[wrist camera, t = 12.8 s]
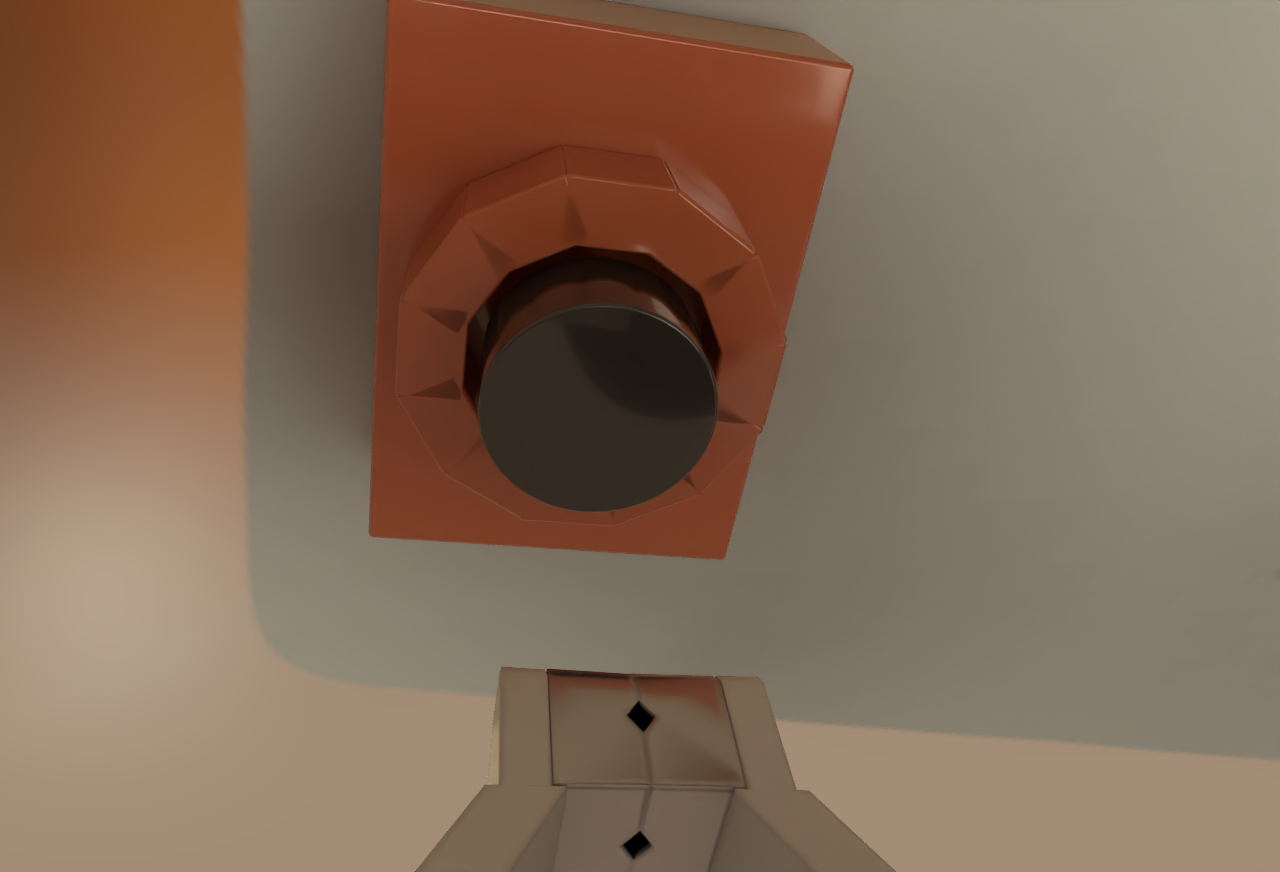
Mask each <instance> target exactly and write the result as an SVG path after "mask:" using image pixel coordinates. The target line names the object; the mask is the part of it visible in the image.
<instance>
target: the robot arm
mask: <svg viewBox="0 0 1280 872" xmlns="http://www.w3.org/2000/svg"><path fill="white" fill-rule="evenodd" d="M415 872H896V871H895V870H894V869H893V868H891V866H889V865H888V864H887V863H886V862H885V861H884V860H883V859H882V858H881V857H880V856H879V855H878V854H877V853H876V852H874V851H873V850H872V849H871V848H870V847H869V846H868V845H867V844H866V843H864V841H863V840H862V839H860V838H859V837H858V836H857V835H856V834H855V833H854V832H853V831H852V830H851V829H850V828H849V827H848V826H847V825H845V824H844V823H843V822H842V821H841V820H840V819H839V818H838V817H837V816H836V815H835V814H833V812H831V811H830V810H829V809H828V808H827V807H826V806H825V805H824V804H823V803H822V802H821V801H820V800H819V799H817V798H816V797H815V796H814V795H813V794H812V793H811V792H810V791H804V790H796V787H795V783H794V780H793V777H792V774H791V771H790V767H789V764H788V761H787V757H786V755H785V751H784V748H783V744H782V742H781V738H780V735H779V731H778V729H777V725H776V722H775V718H774V715H773V712H772V709H771V705H770V702H769V699H768V696H767V693H766V689H765V686H764V683H763V682H762V681H761V680H760V679H759V678H758V677H737V676H716V677H713V676H692V675H658V674H621V673H605V672H590V671H574V670H558V669H547V670H546V671H545V670H540V669H526V668H512V667H501V669H500V672H499V678H498V686H497V694H496V703H495V711H494V720H493V727H492V735H491V745H490V756H489V768H488V779H487V785H484V787H483V788H482V789H481V790H480V792H479V793H478V794H477V795H476V796H475V798H474V799H473V800H472V802H471V803H470V804H469V805H468V807H467V808H466V809H465V810H464V811H463V813H462V814H461V815H460V816H459V818H458V819H457V820H456V821H455V823H454V824H453V825H452V826H451V828H450V829H449V830H448V831H447V833H446V834H445V835H444V836H443V837H442V839H441V840H440V841H439V842H438V844H437V845H436V846H435V847H434V849H433V850H432V851H431V852H430V854H429V855H428V856H427V858H426V859H425V860H424V861H423V862H422V864H421V865H420V866H419V867H418V869H417V870H416V871H415Z"/></svg>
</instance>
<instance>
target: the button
mask: <svg viewBox="0 0 1280 872" xmlns="http://www.w3.org/2000/svg"><path fill="white" fill-rule="evenodd" d="M718 399H719V397H718V390H717V383H716V380H715V376H714V373H713V370H712V367H711V364H710V362H709V359H708V356H707V354H706V351H705V348H704V346H703V343H702V340H701V338H700V335H699V332H698V330H697V327H696V324H695V322H694V320H693V317H692V315H691V313H690V311H689V309H688V308H687V306H686V304H685V303H684V301H683V300H682V298H681V297H680V296H679V295H678V294H677V293H676V292H675V290H674V289H673V288H672V287H671V286H669V285H668V284H667V283H666V282H665V281H664V280H662V279H661V278H659V277H658V276H656V275H655V274H653V273H652V272H650V271H648V270H646V269H644V268H642V267H639V266H637V265H634V264H631V263H628V262H625V261H621V260H616V259H610V258H598V257H589V258H577V259H572V260H566V261H562V262H559V263H556V264H553V265H550V266H547V267H545V268H543V269H541V270H539V271H537V272H535V273H533V274H532V275H530V276H528V277H527V278H525V279H524V280H522V281H521V282H520V283H519V284H517V285H516V286H515V287H514V288H513V289H512V290H511V291H510V292H509V293H508V294H507V295H506V296H505V297H504V298H503V299H502V301H501V302H500V303H499V305H498V306H497V308H496V309H495V311H494V312H493V314H492V316H491V318H490V320H489V322H488V325H487V328H486V331H485V334H484V337H483V343H482V349H481V362H480V378H479V394H478V423H479V430H480V434H481V437H482V440H483V444H484V446H485V448H486V450H487V452H488V454H489V456H490V458H491V459H492V461H493V462H494V464H495V466H496V467H497V468H498V469H499V471H500V472H501V473H502V474H503V475H504V476H505V477H506V479H508V480H509V481H510V482H511V483H512V484H513V485H514V486H516V487H517V488H518V489H520V490H521V491H523V492H524V493H526V494H527V495H529V496H530V497H532V498H534V499H536V500H538V501H540V502H543V503H545V504H548V505H551V506H554V507H557V508H561V509H565V510H570V511H577V512H596V513H599V512H610V511H617V510H622V509H627V508H630V507H633V506H637V505H640V504H643V503H645V502H647V501H650V500H652V499H654V498H656V497H658V496H660V495H661V494H663V493H665V492H667V491H668V490H669V489H671V488H672V487H674V486H675V485H676V484H678V483H679V482H680V481H681V480H682V479H683V478H684V477H685V476H686V475H688V474H689V473H690V471H691V470H692V469H693V468H694V467H695V465H696V464H697V463H698V462H699V460H700V459H701V457H702V456H703V454H704V452H705V451H706V449H707V447H708V445H709V443H710V440H711V438H712V436H713V433H714V429H715V426H716V422H717V416H718Z"/></svg>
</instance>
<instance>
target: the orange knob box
mask: <svg viewBox="0 0 1280 872" xmlns="http://www.w3.org/2000/svg"><path fill="white" fill-rule="evenodd" d="M853 71H854V70H853V66H852V65H851V64H850V63H848V62H847V61H845V60H844V59H842V58H841V57H839V56H838V55H836V54H835V53H833V52H832V51H830V50H829V49H827V48H826V47H824V46H823V45H821V44H820V43H818V42H817V41H815V40H814V39H812V38H811V37H809V36H808V35H806V34H800V33H794V32H788V31H782V30H776V29H770V28H764V27H758V26H752V25H746V24H740V23H734V22H728V21H722V20H716V19H710V18H704V17H698V16H692V15H686V14H680V13H674V12H668V11H662V10H656V9H650V8H644V7H638V6H632V5H626V4H620V3H614V2H608V1H602V0H387V13H386V42H385V71H384V101H383V130H382V159H381V189H380V218H379V247H378V276H377V306H376V335H375V364H374V393H373V423H372V452H371V481H370V511H369V534H370V536H372V537H379V538H395V539H410V540H426V541H441V542H456V543H472V544H487V545H502V546H518V547H533V548H549V549H564V550H579V551H595V552H610V553H625V554H641V555H656V556H672V557H687V558H702V559H718V560H722V559H724V558H725V556H726V552H727V549H728V545H729V541H730V537H731V533H732V530H733V526H734V522H735V518H736V514H737V511H738V507H739V503H740V499H741V496H742V492H743V488H744V484H745V480H746V477H747V473H748V469H749V465H750V461H751V458H752V454H753V450H754V446H755V442H756V439H757V436H758V435H759V434H760V433H761V432H762V430H763V427H764V425H765V422H766V419H767V415H768V411H769V407H770V404H771V400H772V396H773V392H774V389H775V385H776V381H777V377H778V373H779V370H780V366H781V362H782V358H783V355H784V351H785V347H786V335H785V329H786V325H787V321H788V317H789V313H790V310H791V306H792V302H793V298H794V295H795V291H796V287H797V283H798V279H799V276H800V272H801V268H802V264H803V260H804V257H805V253H806V249H807V245H808V241H809V238H810V234H811V230H812V226H813V222H814V219H815V215H816V211H817V207H818V204H819V200H820V196H821V192H822V188H823V185H824V181H825V177H826V173H827V169H828V166H829V162H830V158H831V154H832V150H833V147H834V143H835V139H836V135H837V131H838V128H839V124H840V120H841V116H842V113H843V109H844V105H845V101H846V97H847V94H848V90H849V86H850V82H851V78H852V75H853ZM589 257H598V258H610V259H616V260H621V261H625V262H628V263H631V264H634V265H637V266H639V267H642V268H644V269H646V270H648V271H650V272H652V273H653V274H655V275H656V276H658V277H659V278H661V279H662V280H664V281H665V282H666V283H667V284H668V285H669V286H671V287H672V288H673V289H674V290H675V292H676V293H677V294H678V295H679V296H680V297H681V298H682V300H683V301H684V303H685V304H686V306H687V308H688V309H689V311H690V313H691V315H692V317H693V320H694V322H695V324H696V327H697V330H698V332H699V335H700V338H701V340H702V343H703V346H704V348H705V351H706V354H707V356H708V359H709V362H710V364H711V367H712V370H713V373H714V376H715V380H716V383H717V390H718V397H719V399H718V416H717V422H716V426H715V429H714V433H713V436H712V438H711V440H710V443H709V445H708V447H707V449H706V451H705V452H704V454H703V456H702V457H701V459H700V460H699V462H698V463H697V464H696V465H695V467H694V468H693V469H692V470H691V471H690V473H689V474H688V475H686V476H685V477H684V478H683V479H682V480H681V481H680V482H679V483H678V484H676V485H675V486H674V487H672V488H671V489H669V490H668V491H667V492H665V493H663V494H661V495H660V496H658V497H656V498H654V499H652V500H650V501H647V502H645V503H643V504H640V505H637V506H633V507H630V508H627V509H622V510H617V511H610V512H599V513H596V512H577V511H570V510H565V509H561V508H557V507H554V506H551V505H548V504H545V503H543V502H540V501H538V500H536V499H534V498H532V497H530V496H529V495H527V494H526V493H524V492H523V491H521V490H520V489H518V488H517V487H516V486H514V485H513V484H512V483H511V482H510V481H509V480H508V479H506V477H505V476H504V475H503V474H502V473H501V472H500V471H499V469H498V468H497V467H496V466H495V464H494V462H493V461H492V459H491V458H490V456H489V454H488V452H487V450H486V448H485V446H484V444H483V440H482V437H481V434H480V430H479V423H478V394H479V378H480V362H481V349H482V343H483V337H484V334H485V331H486V328H487V325H488V322H489V320H490V318H491V316H492V314H493V312H494V311H495V309H496V308H497V306H498V305H499V303H500V302H501V301H502V299H503V298H504V297H505V296H506V295H507V294H508V293H509V292H510V291H511V290H512V289H513V288H514V287H515V286H516V285H517V284H519V283H520V282H521V281H522V280H524V279H525V278H527V277H528V276H530V275H532V274H533V273H535V272H537V271H539V270H541V269H543V268H545V267H547V266H550V265H553V264H556V263H559V262H562V261H566V260H572V259H577V258H589Z"/></svg>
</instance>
